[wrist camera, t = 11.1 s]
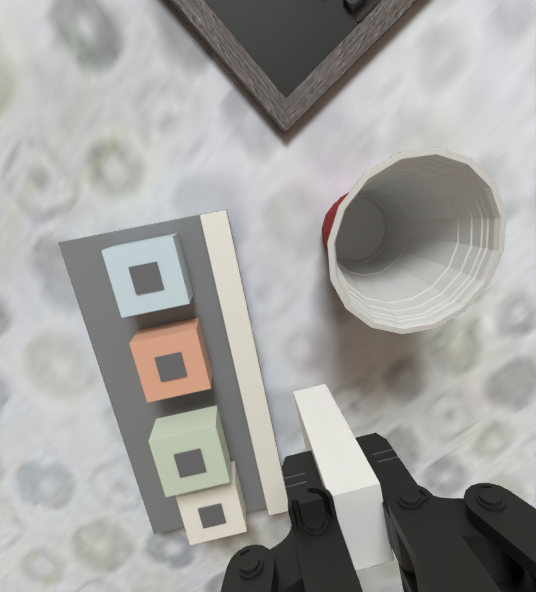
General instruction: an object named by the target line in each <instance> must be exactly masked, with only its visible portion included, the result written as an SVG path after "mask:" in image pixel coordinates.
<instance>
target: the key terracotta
mask: <svg viewBox="0 0 536 592" xmlns="http://www.w3.org/2000/svg"><path fill="white" fill-rule="evenodd" d="M129 344H130V347H131V351H132V354H133V357H134V361H135V364H136V367H137V370H138V374H139V377H140V380H141V384H142V387H143V390H144V394H145V397H146V400H147V403H148V402H152V401H157V400H161V399H166V398H171V397H175V396H180V395H184V394H189V393H193V392H198V391H202V390H207V389H211V383H212V373H213V372H212V368H211V364H210V360H209V355H208V351H207V347H206V343H205V339H204V335H203V331H202V327H201V323H200V319H199V317H198V318H194V319H189V320H184V321H179V322H175V323H170V324H165V325H160V326H156V327H151V328H146V329H141V330H138V332H137V333H136V334H135V336H134V337H133V339H132V340H131V341H130V343H129Z"/></svg>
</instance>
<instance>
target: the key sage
mask: <svg viewBox="0 0 536 592" xmlns="http://www.w3.org/2000/svg"><path fill="white" fill-rule="evenodd" d="M148 442H149V445H150V448H151V451H152V455H153V458H154V461H155V464H156V467H157V471H158V474H159V477H160V480H161V484H162V487H163V490H164V493H165V496H166V497H169V496H173V495H178V494H182V493H186V492H190V491H195V490H199V489H203V488H208V487H212V486H216V485H221V484H225V483H229V482H230V456H229V452H228V448H227V444H226V440H225V436H224V432H223V428H222V424H221V420H220V416H219V412H218V408H217V405H216V406H212V407H207V408H203V409H198V410H194V411H189V412H185V413H180V414H176V415H171V416H167V417H162V418H158V419H156V421H155V423H154V426H153V429H152V432H151V435H150V438H149V441H148Z"/></svg>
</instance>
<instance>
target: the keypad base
mask: <svg viewBox="0 0 536 592" xmlns="http://www.w3.org/2000/svg"><path fill="white" fill-rule="evenodd" d="M175 233H178V234H179V238H180V242H181V246H182V250H183V254H184V258H185V262H186V266H187V271H188V275H189V279H190V283H191V287H192V291H193V296H192V299H191V301H190V304H186V305H181V306H176V307H171V308H167V309H162V310H157V311H152V312H147V313H143V314H138V315H133V316H128V317H123V318H122V317H121V314H120V311H119V308H118V304H117V301H116V298H115V294H114V291H113V288H112V284H111V281H110V278H109V274H108V271H107V268H106V264H105V261H104V258H103V255H102V251H101V250H104V249H106V248H109V247H112V246H115V245H120V244H125V243H130V242H135V241H140V240H145V239H150V238H155V237H160V236H165V235H170V234H175ZM59 246H60V249H61V252H62V255H63V258H64V261H65V264H66V267H67V270H68V273H69V276H70V279H71V283H72V286H73V289H74V292H75V295H76V298H77V301H78V304H79V307H80V310H81V313H82V316H83V319H84V322H85V325H86V328H87V331H88V334H89V337H90V340H91V343H92V346H93V349H94V352H95V356H96V359H97V362H98V365H99V368H100V371H101V374H102V377H103V380H104V383H105V386H106V389H107V392H108V395H109V398H110V401H111V404H112V407H113V410H114V413H115V416H116V419H117V422H118V425H119V429H120V432H121V435H122V438H123V441H124V444H125V447H126V450H127V453H128V456H129V459H130V462H131V465H132V468H133V471H134V474H135V477H136V480H137V483H138V486H139V489H140V492H141V495H142V499H143V502H144V505H145V508H146V511H147V514H148V517H149V520H150V523H151V526H152V529H153V532H154V534H158V533H162V532H166V531H170V530H175V529H179V528H183V527H185V526H184V523H183V520H182V516H181V513H180V510H179V506H178V503H177V500H176V495H173V496H169V497H166V496H165V493H164V490H163V487H162V484H161V480H160V477H159V474H158V471H157V467H156V464H155V461H154V458H153V455H152V451H151V448H150V445H149V442H148V441H149V438H150V435H151V432H152V429H153V426H154V423H155V421H156V419H158V418H162V417H167V416H171V415H176V414H180V413H185V412H189V411H194V410H198V409H203V408H207V407H212V406H216V405H217V408H218V412H219V416H220V420H221V424H222V428H223V432H224V436H225V440H226V444H227V448H228V452H229V456H230V462H231V461H235V465H236V469H237V473H238V477H239V481H240V485H241V489H242V493H243V497H244V501H245V505H246V512H251V511H255V510H259V509H263V508H267V509H268V514H269V516H270V515H274V514H278V513H282V512H286V511H288V499H287V494H286V489H285V484H284V479H283V475H282V470H281V465H280V460H279V456H278V451H277V446H276V441H275V437H274V432H273V427H272V423H271V418H270V413H269V408H268V404H267V399H266V394H265V390H264V385H263V380H262V375H261V371H260V366H259V361H258V357H257V352H256V347H255V342H254V338H253V333H252V328H251V323H250V319H249V314H248V309H247V305H246V300H245V295H244V290H243V286H242V281H241V276H240V272H239V267H238V262H237V257H236V253H235V248H234V243H233V239H232V234H231V229H230V224H229V220H228V215H227V210H221V211H216V212H211V213H206V214H201V215H196V216H191V217H186V218H181V219H175V220H170V221H165V222H160V223H155V224H150V225H145V226H140V227H135V228H130V229H125V230H119V231H114V232H109V233H104V234H99V235H94V236H89V237H84V238H79V239H74V240H69V241H64V242H60V243H59ZM198 317H199V319H200V323H201V327H202V331H203V335H204V339H205V343H206V347H207V351H208V355H209V360H210V364H211V368H212V372H213V373H212V383H211V389H207V390H202V391H198V392H193V393H189V394H184V395H180V396H175V397H171V398H166V399H161V400H157V401H152V402H148V403H147V400H146V397H145V394H144V390H143V387H142V384H141V380H140V377H139V374H138V370H137V367H136V364H135V361H134V357H133V354H132V351H131V347H130V344H129V343H130V341H131V340H132V339H133V337H134V336H135V334H136V333H137V332H138V330H141V329H146V328H151V327H156V326H160V325H165V324H170V323H175V322H179V321H184V320H189V319H194V318H198Z"/></svg>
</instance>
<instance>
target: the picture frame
mask: <svg viewBox="0 0 536 592" xmlns="http://www.w3.org/2000/svg"><path fill="white" fill-rule="evenodd" d="M169 1H170V3H171V4H172V5H173V6H174V7H175V8H176V10H177V11H178V12H179V13H180V14H181V15H182V17H183V18H184V19H185V20H186V21H187V22H188V23H189V25H190V26H191V27H192V28H193V29H194V30H195V32H196V33H197V34H198V35H199V36H200V37H201V39H202V40H203V41H204V42H205V43H206V44H207V46H208V47H209V48H210V49H211V50H212V51H213V53H214V54H215V55H216V56H217V57H218V58H219V59H220V61H221V62H222V63H223V64H224V65H225V66H226V68H227V69H228V70H229V71H230V72H231V73H232V75H233V76H234V77H235V78H236V79H237V80H238V82H239V83H240V84H241V85H242V86H243V87H244V88H245V90H246V91H247V92H248V93H249V94H250V95H251V97H252V98H253V99H254V100H255V101H256V102H257V104H258V105H259V106H260V107H261V108H262V109H263V111H264V112H265V113H266V114H267V115H268V116H269V117H270V119H271V120H272V121H273V122H274V123H275V124H276V126H277V127H278V128H279V129H280V130H281V131H282V133H283V134H285V133H286V132H287V131H288V130H289V129H290V128H291V127H292V126H293V124H294V123H295V122H296V121H297V120H298V119H299V118H300V117H301V116H302V115H303V114H304V113H305V112H306V111H307V110H308V109H309V108H310V107H311V106H312V105H313V104H314V103H315V102H316V101H317V100H318V99H319V98H320V97H321V96H322V95H323V94H324V93H325V92H326V91H327V90H328V89H329V88H330V87H331V86H332V85H333V84H334V83H335V82H336V81H337V80H338V79H339V78H340V77H341V76H342V75H343V74H344V73H345V72H346V71H347V70H348V69H349V68H350V67H351V66H352V65H353V64H354V63H355V62H356V61H357V60H358V59H359V58H360V57H361V56H362V55H363V54H364V53H365V52H366V51H367V50H368V49H369V48H370V47H371V46H372V45H373V44H374V43H375V42H376V41H377V40H378V39H379V38H380V37H381V36H382V35H383V34H384V33H385V32H386V31H387V30H388V29H389V28H390V27H391V26H392V25H393V24H394V23H395V22H396V21H397V20H398V19H399V18H400V17H401V16H402V15H403V14H404V13H405V12H406V11H407V10H408V9H409V8H410V7H411V6H412V5H413V4H414V3H415V2H416V1H417V0H169Z"/></svg>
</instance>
